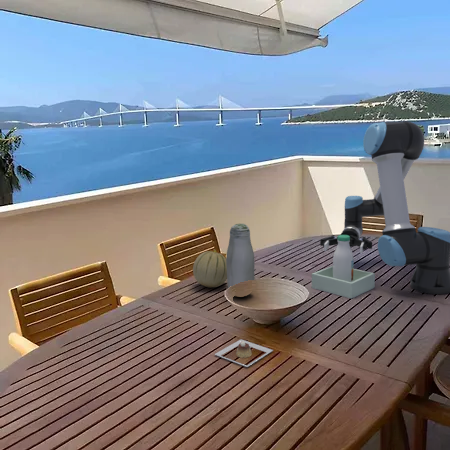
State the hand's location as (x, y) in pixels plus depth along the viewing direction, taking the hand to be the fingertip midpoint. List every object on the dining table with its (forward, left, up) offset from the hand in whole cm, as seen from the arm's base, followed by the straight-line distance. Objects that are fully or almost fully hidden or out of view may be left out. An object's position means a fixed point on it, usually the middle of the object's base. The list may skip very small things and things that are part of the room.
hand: (342, 248), depth 183 cm
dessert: (-11, +65, -16) cm, 68 cm away
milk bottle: (0, 0, -15) cm, 15 cm away
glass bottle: (+23, +33, -16) cm, 43 cm away
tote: (0, 0, -16) cm, 16 cm away
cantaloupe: (+40, +33, -16) cm, 54 cm away
